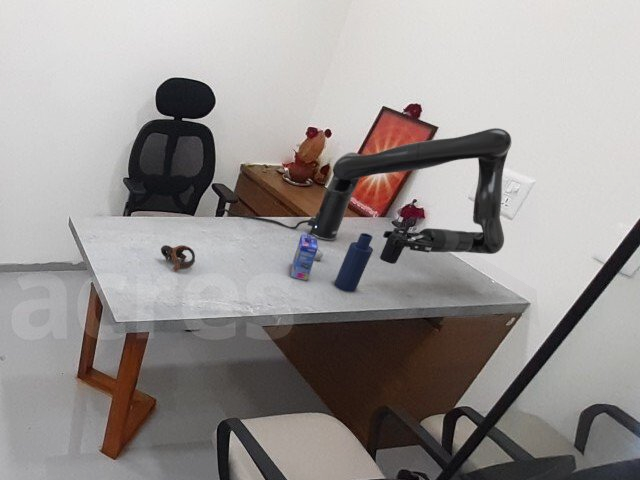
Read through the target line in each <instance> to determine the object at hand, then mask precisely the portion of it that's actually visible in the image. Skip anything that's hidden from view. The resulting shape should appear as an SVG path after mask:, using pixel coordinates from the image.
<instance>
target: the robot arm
mask: <svg viewBox="0 0 640 480" xmlns="http://www.w3.org/2000/svg"><path fill="white" fill-rule="evenodd" d="M511 147H512V136H511V134H510V133H509V132H508V131H507V130H506V129H504V128H498V127H493V128H488V129H485V130H481V131H477V132H474V133H470V134H466V135H461V136H456V137H449V138H440V139H439V138H437V139H430V140H423V141H417V142H411V143H406V144H402V145H398V146H394V147H392V148H388V149H386V150H383V151H380V152H376V153H370V154H362V155H361V154H360V153H358V152H355V151H354V152H353V151H352V152H346V153H344V154H343V155H341V156H340V157H339V158H338V159H337V160H336V161H335V162H334V164H333V166H332V174H333V175H332V177H331V180H330V181H329V184H328V185H327V187H326V190H325V193H324V196H323V198H322V201H321V204H320V207H319V210H318V211H317V212H316V215H315V217H314V216H311V217H310V219H306V220H301V221H298V223H296V225H295V226H289V225H286V224H285V223H282V222H280V221H277V220H274V219H271V218H265V217H258V216H254V215H247V214H240V213H235V212H233V211H230V210H229V209H226V208H222V209H220V210H218V212H219V213H222V212H226V213H228V214H229V215H232V216H235V217H239V218H246V219H252V220H257V221H264V222H268V223H272V224H277V225H279V226H282V227H284V228H287V229H290V230H296V229H298V227H300V225H302V224H307V226H310V227H311V228H310V232H309V235H310V236H313V237H317V239H319V240H323V241H330V242H331V241H335V240H336V238H337V235H338V232H339V230H340V227H341V224H342V222H343V220H344V217H345V214H346V212H347V210H348V207H349V204H350V201H351V200H352V196H353V194H354V192H355V190H356V188H357V186H358V183H359V181H360V179H361V178H365V177H369V176H374V175H380V174H392V173H402V172H410V171H411V172H412V171H417V170H418V171H419V170H425V169H429V168H433V167H437V166H440V165H444V164H447V163H450V162H454V161H460V160H470V159H477V160H478V177H477V179H478V180H477V185H476V190H475V195H474V201H473V212H472V222H473V224H475V225H478V226H480V227H481V231H465V230H452V229H448V228H447V229H446V228H431V227H429V228H428V227H427V228H423V229H422V230H420V231H415V230H413V231H412V230H410V228H409V229H408V231H407V233H406V236H407V239H397V238H396V239H394V241H393V245H394V246H405V247H404V248H408V249H409V250H410V251H416V252H423V253H428V254H429V253H471V254H483V255H484V254H485V255H494V254H497V253H498V252H500V251H501V250H502V248H503V247H504V245H505V234H504V231H503V225H502V221H501V213H502V212H501V210H502V201H503V200H502V199H503V197H502V195H503V175H504V174H503V173H504V169H505V164H506V160H507V157H508V154H509V151H510V149H511ZM405 228H406V226H405V227H404V226H403V227H394V229H393V230H385V231H384V233H383V235H382V237H383V238H384V239H388V237H389V236H390V235H391V233H393V232H395V230H396V229H399V233H400V234H403V232H404V230H405Z"/></svg>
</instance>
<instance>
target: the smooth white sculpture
mask: <svg viewBox="0 0 640 480" xmlns="http://www.w3.org/2000/svg"><path fill="white" fill-rule="evenodd" d="M323 256H324V253H323V252H322V251H321V250H320V249H319V248H318V250H317V253H316V256H315V259H314V261H319V260H321V259H322V258H323Z"/></svg>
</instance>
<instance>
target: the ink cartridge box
mask: <svg viewBox="0 0 640 480" xmlns="http://www.w3.org/2000/svg"><path fill="white" fill-rule="evenodd" d="M318 249H319V246H318V238H317V237H314V236H313V235H310V234H309V232H308V231H307V232H306V234H301V235H300V237H299V241H298V245H297V247H296V250H295V253H294V256H293V259H292V263H291V269H290V271H291V272H290V273H291V278H294V279H298V280H303V281H308V280H309V276H310V273H311V270H312V268H313V264H314V261H315V256H316V253H317V250H318Z"/></svg>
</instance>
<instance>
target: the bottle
mask: <svg viewBox="0 0 640 480" xmlns="http://www.w3.org/2000/svg"><path fill="white" fill-rule="evenodd" d="M373 238H374V237H373V235H371V234H369V233H366V232H361V233H360V234H359V237H358V239H357V241H353V242H350V244H349V246H348V249H347V252H346V254H345V256H344V258H343V261H342V263H341V265H340V268H339V271H338V273H337V275H336V278H335V280H334V286H335V287H336V288H337V289H338V290H340V291H343V292H346V293H354V292H355V291H356V290H357V287H358V285H359V283H360V281H361V279H362V276H363V274H364V271H365V269H366V268H367V265H368V263H369V260H370V258H371V256H372V254H373V252H374V248H373V247H372V246H371V245H370V244H371V243H372V240H373Z"/></svg>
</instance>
